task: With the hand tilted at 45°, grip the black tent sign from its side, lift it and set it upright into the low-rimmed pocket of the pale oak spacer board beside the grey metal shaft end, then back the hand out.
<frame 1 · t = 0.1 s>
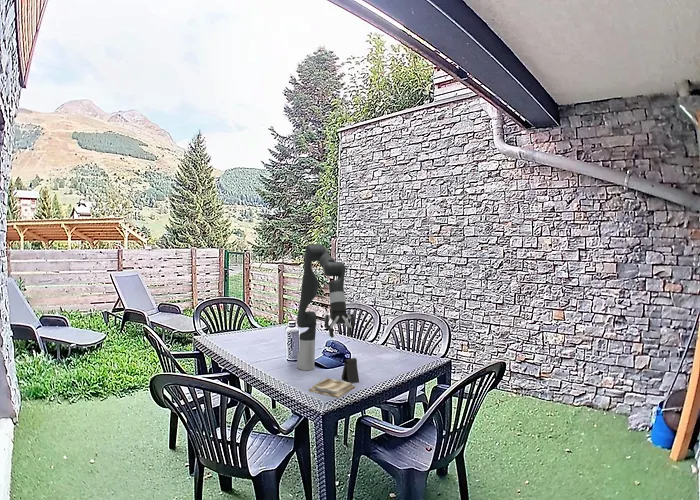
hand: (340, 336, 210), 31 cm above the table, tool tilted 20°, fingers open, 8 cm apart
spacer board: (332, 389, 230), on the table
black tent sign: (350, 381, 245), on the table
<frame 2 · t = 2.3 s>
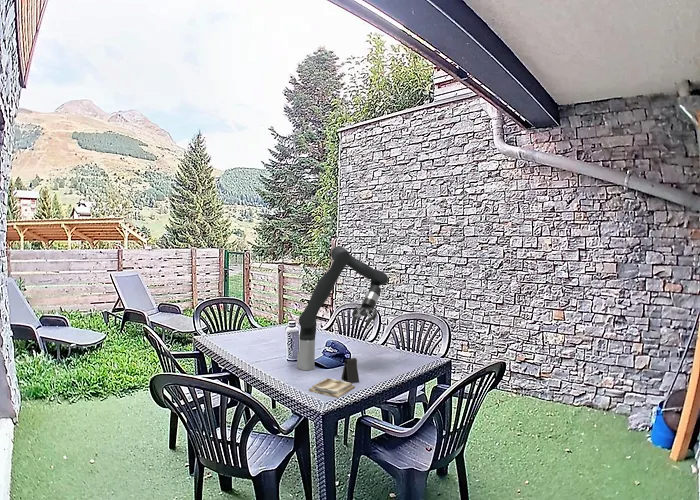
hand: (360, 323, 256), 28 cm above the table, tool tilted 45°, fingers open, 8 cm apart
nothing on the table moved.
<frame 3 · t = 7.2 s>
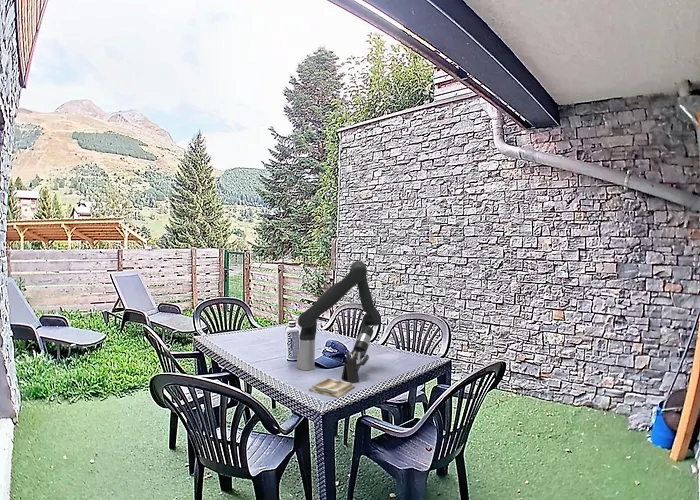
hand: (352, 370, 244), 6 cm above the table, tool tilted 45°, fingers closed on black tent sign, 4 cm apart
black tent sign: (350, 380, 245), on the table, touching gripper
when the fingers open (8 cm above the table, at t = 12.3 s): black tent sign drops 2 cm, resting on spacer board.
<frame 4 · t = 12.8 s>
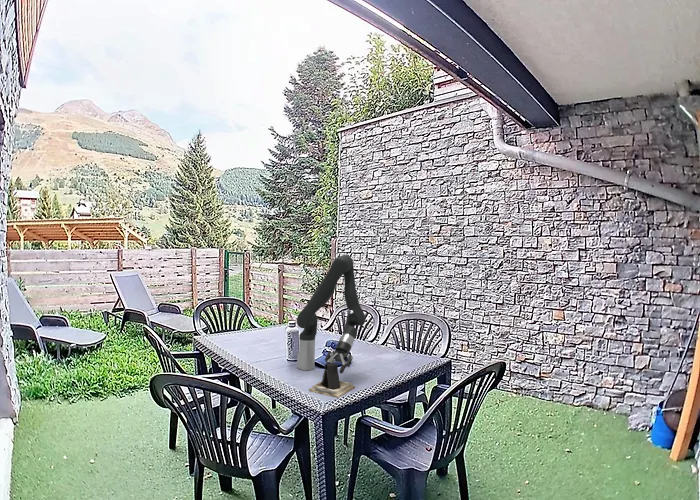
hand: (333, 371, 230), 9 cm above the table, tool tilted 45°, fingers open, 8 cm apart
black tent sign: (330, 387, 231), point 1 cm above the table, touching spacer board
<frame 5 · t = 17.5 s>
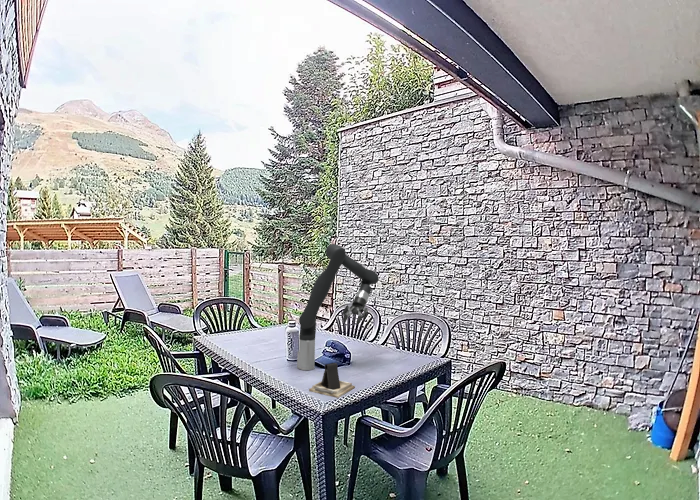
hand: (350, 322, 259), 29 cm above the table, tool tilted 45°, fingers open, 8 cm apart
nothing on the table moved.
at the end: black tent sign 1.2 cm off-centre on the spacer board, point 0.8 cm above the spacer board's base; black tent sign tilted 0°; the gripper is holding nothing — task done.
